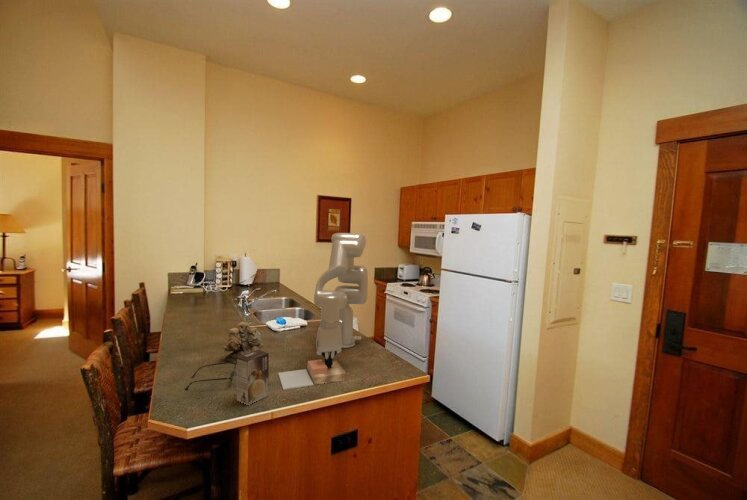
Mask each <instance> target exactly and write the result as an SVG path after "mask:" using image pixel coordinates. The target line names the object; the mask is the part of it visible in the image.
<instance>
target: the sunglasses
mask: <svg viewBox="0 0 747 500" xmlns="http://www.w3.org/2000/svg"><path fill="white" fill-rule="evenodd" d="M231 363H235V364H234V366H233V368H232V371H231V373H230V377H222V378H220V377H219V378H210V379H200V380H199V379H198V380H195V381H191V382H190V383H189V384H188V385H187V386H186V387H185V389H184V390H187V391H188V390H189V387H190V386H191V385H192V384H194V383H197V382H199V383H200V382H207V381H208V382H209V381H211V382H212V381H222V380H224V381H225V380H229V381H230V383H229V385H230V387H231V386H232V384H233V380H234V376H235V372H236V369H237V361H231V362H226V361H225V362H219V363H217V362H216V363H211V364H206V365H203V366H200V367H199V368H198V369H196V371H195V372H194V374H192V376H191V379H194V378H195V376H196V374H197V373H198V371H200V369H203V368H205V367H210V366H217V365H227V364H231Z"/></svg>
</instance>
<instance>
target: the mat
mask: <svg viewBox="0 0 747 500" xmlns="http://www.w3.org/2000/svg"><path fill="white" fill-rule="evenodd" d="M278 378H279V381H280V384H281V387H282V390H283V391H288V390H289V391H290V390H295V389H302V387H303V388H308V386H309V387H314V386H315V385H314V383H313V381H312V379H311V377H310V375H309V374H308V372H307V368H305V369H297V370H290V371H289V370H288V371H282V372H278Z"/></svg>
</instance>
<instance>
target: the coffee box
mask: <svg viewBox="0 0 747 500" xmlns="http://www.w3.org/2000/svg"><path fill="white" fill-rule="evenodd" d="M259 350H260V349H259ZM259 350H256V351H253V352H250V353H247V354H244V355H241V356H239V357H237V364H236V401H237V402H238V401H239V402H238V403H240V402H241V404H243V403H244V404H243V405H245V404H246V405H245V406H247V405H249V406H250V404H251V405H252V403H253V404H255V403H257V402H259V401H261V400H262V399H264V398H265V399H266V398H267V397H268V396H269V392H270V391H269V389H270V387H269V385H270V384H269V382H270V381H269V379H270V378H269V373H270V371H269V369H270V368H269V366H270V364H269V363H270V362H269V358H270V357H269V352H266V351H262V350H260V351H259ZM256 401H257V402H256ZM254 402H255V403H254Z"/></svg>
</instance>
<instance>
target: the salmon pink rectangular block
mask: <svg viewBox="0 0 747 500" xmlns="http://www.w3.org/2000/svg"><path fill="white" fill-rule="evenodd" d="M324 362H325V361H324V360H323V359H322V358H321V359H314V360H312V359H311V360H307V364H308V368H309V370H310V371H311V373H312V375H318V374H325V373H327V366H326V365H325V363H324Z"/></svg>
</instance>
